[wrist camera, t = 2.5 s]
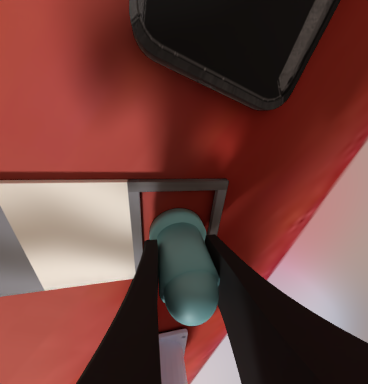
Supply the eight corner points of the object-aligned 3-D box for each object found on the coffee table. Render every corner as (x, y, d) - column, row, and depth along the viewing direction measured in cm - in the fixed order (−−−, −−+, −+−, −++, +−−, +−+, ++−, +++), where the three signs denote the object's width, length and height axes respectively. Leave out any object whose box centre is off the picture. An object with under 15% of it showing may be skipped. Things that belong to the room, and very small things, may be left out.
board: (208, 264, 14) (209, 268, 13) (-210, 318, 9) (-224, 327, 8) (226, 178, 10) (228, 181, 10) (-473, 183, 5) (-520, 188, 5)
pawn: (198, 247, 13) (231, 334, 8) (150, 252, 12) (151, 353, 7) (205, 206, 11) (252, 285, 6) (148, 209, 10) (150, 303, 5)
